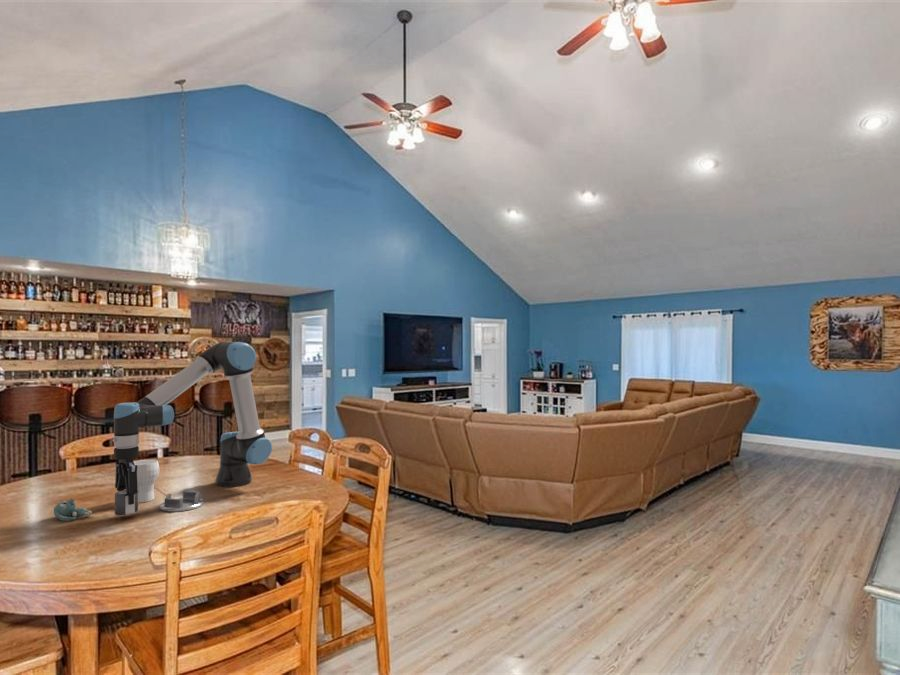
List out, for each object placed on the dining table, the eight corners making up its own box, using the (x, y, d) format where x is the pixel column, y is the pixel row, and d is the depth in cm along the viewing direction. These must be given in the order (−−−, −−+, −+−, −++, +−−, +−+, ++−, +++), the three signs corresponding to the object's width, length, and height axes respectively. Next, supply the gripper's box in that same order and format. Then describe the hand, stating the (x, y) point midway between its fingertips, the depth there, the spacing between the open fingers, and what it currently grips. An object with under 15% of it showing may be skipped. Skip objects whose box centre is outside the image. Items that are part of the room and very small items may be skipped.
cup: (164, 497, 207) (165, 460, 207) (141, 505, 197) (142, 466, 197) (145, 495, 210) (146, 458, 210) (121, 502, 200) (122, 463, 200)
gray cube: (111, 512, 181) (111, 491, 181) (133, 507, 187) (133, 487, 187) (118, 516, 177) (118, 495, 177) (140, 511, 182) (141, 490, 182)
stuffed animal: (82, 507, 177) (47, 500, 176) (78, 527, 177) (42, 521, 176) (101, 498, 188) (68, 492, 187) (97, 517, 187) (63, 511, 187)
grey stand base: (153, 506, 196) (153, 495, 196) (193, 497, 207) (193, 487, 207) (170, 514, 186) (170, 503, 186) (211, 505, 198) (211, 494, 198)
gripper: (104, 444, 185) (104, 507, 185) (124, 452, 173) (124, 520, 173) (127, 441, 191) (127, 502, 191) (148, 448, 178) (148, 514, 178)
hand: (126, 510), depth 182 cm, fingers closed on gray cube, 7 cm apart
